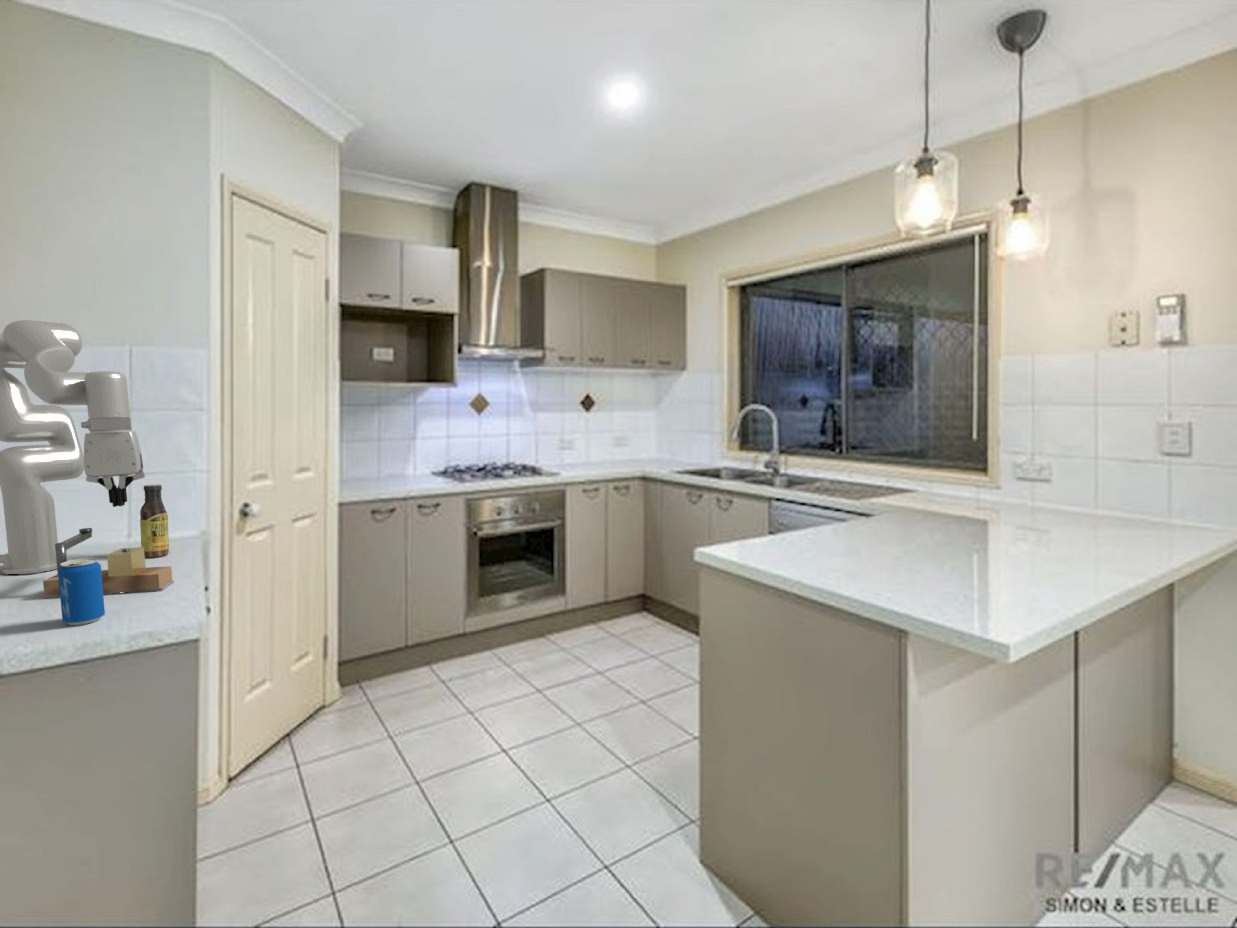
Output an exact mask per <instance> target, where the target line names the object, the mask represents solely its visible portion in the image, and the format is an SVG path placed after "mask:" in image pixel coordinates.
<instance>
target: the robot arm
mask: <svg viewBox="0 0 1237 928" xmlns="http://www.w3.org/2000/svg"><path fill="white" fill-rule="evenodd" d="M82 339H83V338H82V336H81V334H80V333H79V331H78V330H77V329H76V328H75V327H73V326H72V325H70V324H68V323H63V322H53V321H52V322H51V321H41V320H40V321H39V320H31V319H30V320H29V319H28V320H27V319H23V320H20V319H19V320H15V321H12V322H10V323H9V324H6V325H5V327H4V329H3V330H2V333H0V442H3V443H31V442H32V443H34V442H36V443H37V442H47V443H48V444H38V445H37V444H35V445H33V444H32V445H19V446H17V445H16V446H12V447H7V448H4V449H1V450H0V492H1V496H2V505H3V514H4V523H5V532H6V536H5V537H6V543H7V552H6V553H4V554H0V564H3V566H2V567H1V568H0V569H1V573H2V574H3V575H8V574H19V575H29V574H38V573H43V572H44V571H45V572H50V571H54V570H57V562H56V551H55V544H56V543H59V541H58V540H59V539H58V531H57V530H58V529H57V520H56V518H57V517H56V507H55V501H54V497H53V496H52V494H51V493H50V492H49V491H48V490H47V489H46V488H44V487H43V485H41V484H42V483H46V482H56V481H68V480H73V479H77V478H78V477H81V476H82V475H83V473H85V475H86V479H85V481H86V482H88V483H95V484H99V485H101V486H103V487H104V488H105V489H106V490H107V491H108V499H109V501H108V502H109V503H110V504H112V507H114V508H115V507H116V508H117V507H124V506H125V505H126V502H128V493H127V492H128V491H127V488H128V486H129V485H131V483H132V482H133V481H137V480H141V479H144V478H145V473H144V462H143V460H144V459H143V455H142V452H141V451H142V450H141V446H140V443H139V439H138V435H137V433H136V431H132V419H131V411H130V401H129V391H128V381H127V377H126V376H125V374H124V373H122V372H120V371H119V372H118V371H103V370H102V371H90V372H84V371H80V372H79V371H78V372H77V371H70V370H71V369H72V368H73V366H74V364H75V359H76V358H75V357H77V356H78V355H79V354H80V353H81V351H82V348H83V340H82ZM6 368H7V369H8V368H9V369H24V370H23V371H24V372H23V375H24V380H25V383H26V385H27V387H28V389H29V390H30V392H32V393H33V394H34V395H35V396H36V397H38V399H40V400H41V401H43V402H44V403H47V404H34V403H33V402H32V401H31V400H30V397H29V393H28V389H27V387H26V386H25V384H23V382H21V381H20V380H19V379H18V378H17V377H16V376H14V375H13V374H12V373H10V372H8V370H6ZM62 406H87V415H88V418H87V421H82V422H80V427H81V428H82V429H87V430H88V431H89V432H87V433H84V438H83V439H84V441H83V450H82V446H81V443H80V439H79V436H78V433H77V429H76V425H75V421H74V419H73V417H72V415H71V414H70V413H69V411H68V410H67V409H66V408H64V407H62ZM117 476H118V485H116V483H115V479H114V477H117Z"/></svg>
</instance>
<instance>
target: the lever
mask: <svg viewBox="0 0 1237 928" xmlns="http://www.w3.org/2000/svg"><path fill="white" fill-rule="evenodd" d="M78 531H79V533H78V534H76V535H74V536H72V537H69V538H67V539H66V540H64V541H61V542H58V543H56V544H55V551H56V562H57V569H56V572H57V574H58V570H59V568H60V567H61V566H60V564H61V563H63V562H67V561H68V557H67V550H69V549H71V548H73V547H75V546H77V545H78V544H81V543H82V542H84V541H86V540H88V539H90V538H92V537H93V528H92V527H85V528H79V530H78Z"/></svg>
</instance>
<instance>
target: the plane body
mask: <svg viewBox="0 0 1237 928" xmlns="http://www.w3.org/2000/svg"><path fill="white" fill-rule="evenodd" d="M101 574H102V586H103V594H104V595H112V594H111V593H119V594H121V593H120V592H135V593H145V592H144V591H150V592H162V591H164V590H166V589H167V588H169V587H170V586H171V585H173V584H174V583H175V582H174V580H173V573H172V565H170V566H169V565H168V566H153V567H145V569H143V570H141V571H139V572H138V573H136V574H134V575H130V576H113V577H109V573H108V569H101ZM42 585H43V594H44V595H43V596H42V598H43V599H54V598H60V588H59V577H58V573H57V574H55V575H53V576H51V577H49V578H46V579H44V580H42ZM166 587H167V588H166Z"/></svg>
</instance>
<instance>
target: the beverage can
mask: <svg viewBox="0 0 1237 928" xmlns="http://www.w3.org/2000/svg"><path fill="white" fill-rule="evenodd" d="M60 566H61V567H60V568H59V570H58V573H57V574H58V577H59V588H60V597H59V598H60V599H59V600H60V607H61V608H60V609H61V617H62V618H61V619H62V620H61V621H62V623H65V624H67V625H69V626H82V625H83V626H84V625H88V623H89V624H93V623H95V622H94V621H96V622H98V621H100V620H101V618H102V617H104V616H105V614H106V610H105V601H104V600H105V599H104V595H103V586H102V574H101V570H102V566H101V563H99V561H98V558H93V557H92V558H87V557H86V558H78V559H72V560H67V562H63V563H61V564H60ZM99 619H100V620H99ZM97 620H98V621H97Z"/></svg>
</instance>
